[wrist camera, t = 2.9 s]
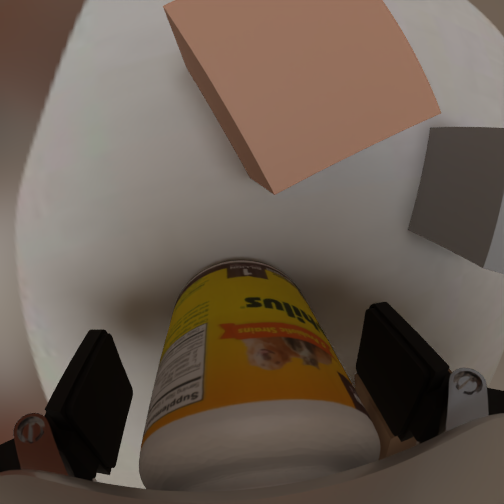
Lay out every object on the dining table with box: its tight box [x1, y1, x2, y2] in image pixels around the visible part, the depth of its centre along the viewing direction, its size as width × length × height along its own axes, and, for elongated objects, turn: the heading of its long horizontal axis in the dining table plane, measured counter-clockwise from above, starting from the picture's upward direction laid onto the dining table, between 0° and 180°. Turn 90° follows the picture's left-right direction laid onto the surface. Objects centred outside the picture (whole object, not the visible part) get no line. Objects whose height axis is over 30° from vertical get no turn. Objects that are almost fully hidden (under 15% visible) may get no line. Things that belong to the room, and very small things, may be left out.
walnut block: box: [355, 369, 452, 460], centre depth 13 cm, size 5×5×5 cm
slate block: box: [408, 127, 504, 274], centre depth 9 cm, size 5×5×5 cm
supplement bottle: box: [139, 260, 380, 492], centre depth 7 cm, size 6×6×10 cm
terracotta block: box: [163, 0, 441, 195], centre depth 7 cm, size 5×5×5 cm
